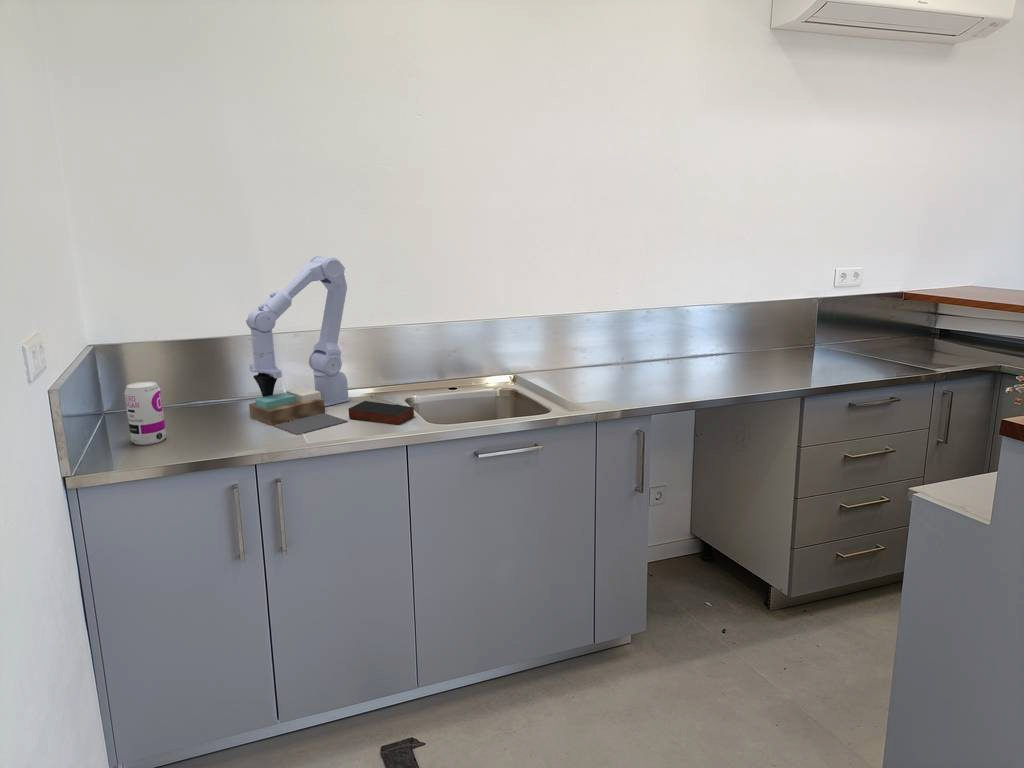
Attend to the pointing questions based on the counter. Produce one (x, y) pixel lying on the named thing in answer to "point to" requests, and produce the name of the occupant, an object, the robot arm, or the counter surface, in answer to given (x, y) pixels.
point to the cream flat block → (304, 394)
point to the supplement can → (145, 413)
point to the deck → (287, 411)
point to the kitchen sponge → (381, 412)
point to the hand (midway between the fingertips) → (268, 398)
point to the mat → (310, 423)
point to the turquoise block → (275, 400)
